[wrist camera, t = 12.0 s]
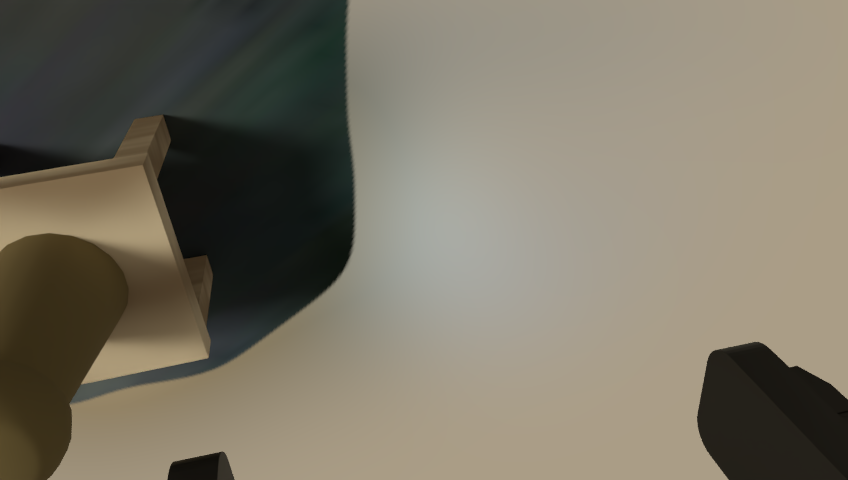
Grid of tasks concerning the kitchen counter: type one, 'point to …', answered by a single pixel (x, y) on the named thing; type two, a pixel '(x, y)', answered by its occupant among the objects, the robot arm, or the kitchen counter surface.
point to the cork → (50, 343)
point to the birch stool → (123, 247)
